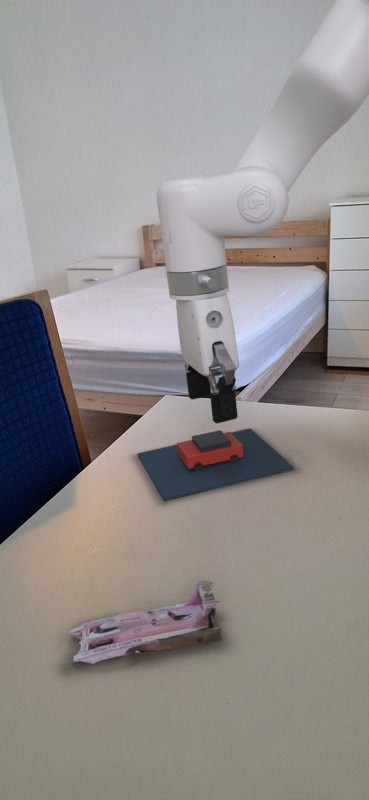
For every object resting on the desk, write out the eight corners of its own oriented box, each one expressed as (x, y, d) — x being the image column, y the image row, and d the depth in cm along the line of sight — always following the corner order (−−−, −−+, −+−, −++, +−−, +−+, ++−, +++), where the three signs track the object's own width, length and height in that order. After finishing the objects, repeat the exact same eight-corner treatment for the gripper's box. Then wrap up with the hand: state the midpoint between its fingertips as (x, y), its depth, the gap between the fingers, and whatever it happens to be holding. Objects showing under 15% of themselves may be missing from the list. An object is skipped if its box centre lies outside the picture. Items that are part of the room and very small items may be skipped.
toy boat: (70, 677, 50) (62, 640, 48) (73, 630, 55) (66, 594, 53) (225, 651, 51) (222, 613, 50) (214, 606, 56) (210, 571, 55)
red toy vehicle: (243, 460, 82) (230, 446, 87) (242, 439, 81) (229, 426, 85) (188, 473, 80) (178, 458, 85) (186, 452, 79) (176, 437, 84)
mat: (250, 431, 92) (250, 428, 92) (293, 469, 80) (292, 466, 79) (137, 456, 88) (137, 453, 87) (163, 501, 75) (163, 497, 75)
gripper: (253, 286, 68) (264, 424, 74) (203, 269, 83) (215, 384, 89) (191, 298, 66) (208, 438, 72) (151, 278, 81) (167, 394, 87)
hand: (212, 408), depth 81 cm, fingers open, 9 cm apart
